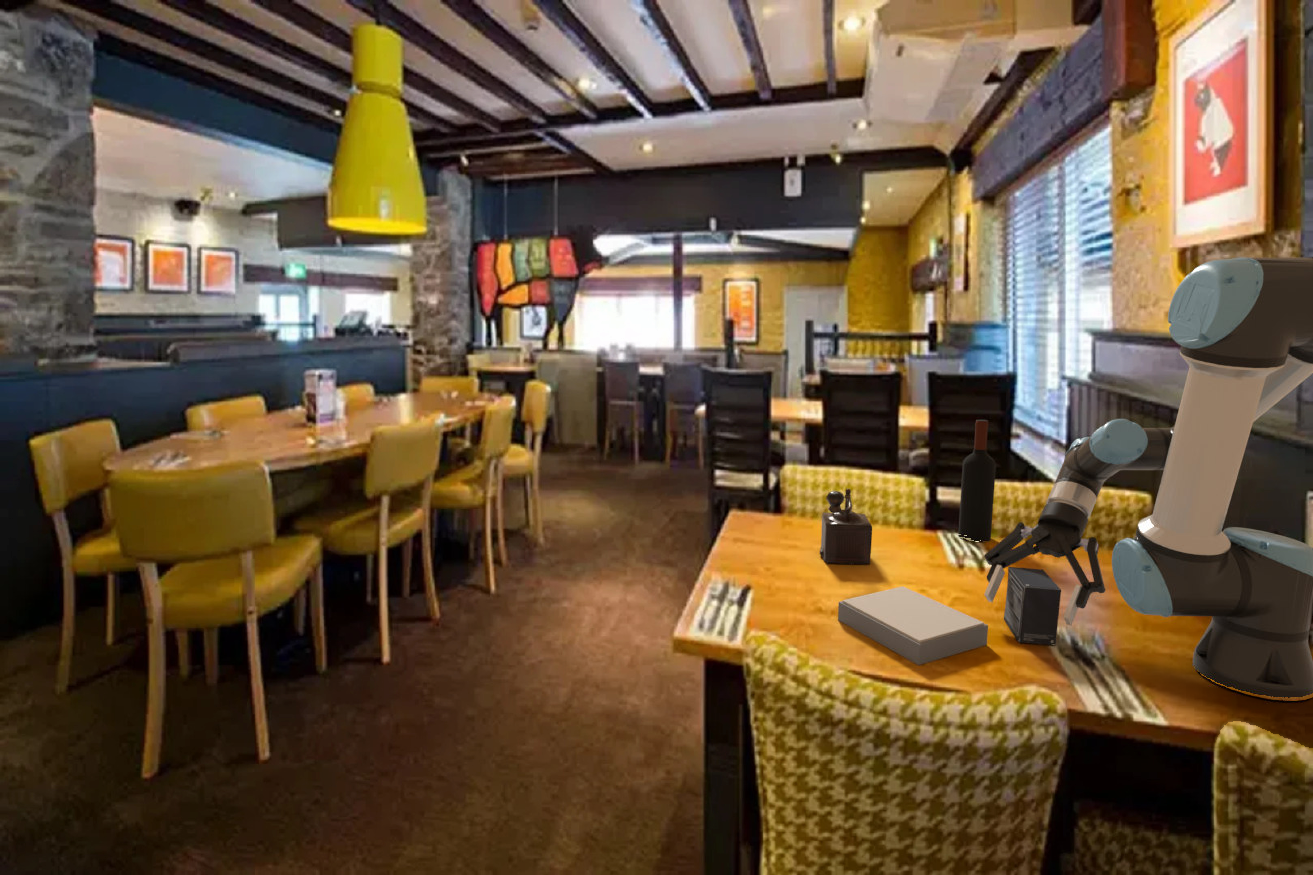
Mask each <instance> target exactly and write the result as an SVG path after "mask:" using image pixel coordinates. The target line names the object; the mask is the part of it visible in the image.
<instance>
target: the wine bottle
mask: <svg viewBox="0 0 1313 875" xmlns="http://www.w3.org/2000/svg"><path fill="white" fill-rule="evenodd" d="M974 424H975V425H974V427H975V430H974V431H975V432H974V446H973V448H974V449H973V451H972V453H970V454H968V455H967V456H966V457H965V458H964V459H963V461H962V467H961V468H962V471H961V472H962V473H961V486H960V503H959V519H958V521H959V522H958V534H961V535H958V534H957V535H958V536H960V537H965V538H971V540H974V541H980V540H981V542H980V543H984V542H983V541H987V542H990V541H991V539H992V523H993V509H994V499H995V498H994V497H995V496H994V495H995V483H996V482H995V481H996V472H997V469H996V468H997V465H996V462H995V460H994V458H993V457H991V456H990V455H989V454H988V452H987V444H988V442H987V441H988V430H989V420H987V419H976V420H975V423H974ZM964 535H967V536H964Z"/></svg>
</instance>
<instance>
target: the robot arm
mask: <svg viewBox="0 0 1313 875" xmlns="http://www.w3.org/2000/svg"><path fill="white" fill-rule="evenodd" d="M1169 304H1170V305H1169V308H1168V313H1167V315H1168V316H1167V322H1168V324H1170V325H1169V328H1168V330H1169V334H1170V335H1171V338H1172V340H1173V341H1174V342H1175V343H1177V345H1180V350H1179V355H1180V356H1181V357H1182V359H1183V360H1184V362H1186V363H1187V365H1188V367H1189V368H1188V372H1187V375H1186V378H1185V379H1186V380H1185V383H1184V389H1183V392H1182V396H1181V401H1180V405H1179V407H1178V408H1179V409H1178V412H1177V415H1176V421H1175V423H1174V425H1173V426H1172V427H1141V425H1139V423H1137V422H1134V421H1130V420H1129V419H1126V418H1116V419H1111V420H1110V421H1107V422H1106V423H1105V424H1104V425H1102V426H1100V427H1099V428H1097V429H1096V430H1095V431H1094V432H1092V434H1091V436H1085V437H1081V438H1080V437H1079V438H1077V439H1075V440H1074V441H1072V443H1071V444H1070V447H1069V449H1068V450H1067V451H1066V453H1065V455H1064V459H1063V462H1062V464H1061V467H1060V469H1059V472H1058V474H1057V476H1056V479H1055V482H1054V483H1053V486H1052V488H1051V491H1050V492H1049V495H1048V497H1047V499H1046V501H1045V503H1046V504H1044V506H1043V509H1042V511H1041V514H1040V516H1039V518H1038V520H1037V521H1038V522H1037V524H1036V525H1035V526H1034V527H1029V526H1027V525H1025V523H1024V522H1022V521H1021V522H1018V523H1017V524H1016V525H1015V528H1014V529H1013V530H1012V531H1011V532H1010V533H1009V534H1007V535H1006V536H1005V537H1004V538H1003V539H1001V540H1000V541H999V542H998V543H997V544H996V545H995V546H993V547H991V549H990V550H988V551H987V552H986V553H984V559H985V561H986V563H987V565H989V566H990V569H989V570H988V572H987V575H986V580H987V582H988V585H987V587H986V589H985V592H984V594H983V595H984V596H985V598H986V600H987V602H990V603H993V601H994V599H995V597H996V595H997V593H998V590H999V588H1000V586H1001V584H1002V581H1003V579H1004V577H1005V574H1006V572H1005V570H1004V569H1007V568H1008V567H1011V565H1013V564H1016V563H1017V562H1019V561H1021V560H1023V559H1025V558H1028V557H1029V556H1031V555H1034V556H1035V555H1036V554H1038V553H1041V555H1045V556H1052V557H1053V558H1054V557H1055V558H1058V559H1059V558H1062V557H1066V559H1067V562H1068V563H1069V565H1070V567H1071V569H1072V570H1073V572H1074V574H1075V576H1076V578H1077V579H1078V582H1079V583H1080V585H1079V584H1075V586H1074V589H1073V590H1072V594H1071V597H1070V598H1069V601H1068V605H1067V607H1066V609H1065V611H1064V615H1063V620H1064V621H1065V623H1066V625H1067V626H1072V625H1073V623H1074V620H1075V618H1076V615H1077V612H1078V610H1079V608H1080V609H1084V608H1086V606H1087V604H1088V602H1089V598H1090V596H1091V595H1092V593H1099V594H1104V593H1106V588H1105V583H1104V579H1103V574H1102V571H1101V570H1102V569H1101V566H1100V562H1099V558H1098V553H1099V549H1100V546H1099V543H1098V540H1097V538H1096V537H1093V536H1090V537H1089V538H1082V536H1083V535H1084V533H1085V530H1086V528H1087V525H1088V522H1089V518H1090V517H1091V514H1092V512H1093V509H1094V508H1095V507H1094V506H1095V504H1096V503H1097V500H1098V497H1099V494H1100V493H1101V492H1100V491H1101V489H1102V487H1103V485H1104V483H1105V482H1106V481H1107V480H1108V479H1110V478H1111V477H1113V476H1115V474H1117V473H1118V472H1120V471H1163V472H1162V476H1161V479H1160V484H1159V488H1158V492H1157V496H1156V499H1155V502H1154V503H1155V504H1154V508H1153V512H1152V514H1151V515H1148V516H1147V517H1143V518H1141V519H1140V520H1139V521H1138V524H1137V527H1136V530H1135V531H1136V532H1135V535H1134V538H1130V537H1126V538H1124V539H1123V538H1122V539H1121V540H1120V541H1118V542H1116V544H1115V545H1114V547H1113V549H1112V555H1111V568H1112V573H1113V575H1112V576H1113V579H1114V582H1115V584H1116V587H1117V590H1118V592H1119V594H1120V595H1121V597H1122V599H1123V600H1124V602H1126V604H1127V606H1129V607H1130V608H1131V609H1132V610H1133V611H1135V612H1137V613H1139V614H1142V615H1145V616H1146V615H1148V616H1161V617H1162V618H1169V617H1211V622H1210V623H1209V625H1208V626H1207V628H1206V629H1205V632H1204V633H1203V635H1202V636H1201V638H1200V640H1199V641H1198V642H1197V645H1196V646H1195V647H1194V650H1193V656H1192V663H1193V664H1192V667H1193V666H1194V667H1195V669H1196V670H1198V671H1199V672H1200V673H1201V674H1203V675H1204V676H1206V677H1207V678H1210V679H1212V680H1214V681H1215V682H1217V683H1220V684H1223V685H1225V686H1227V687H1233V688H1235V689H1238V690H1241V691H1246V692H1250V693H1253V694H1258V695H1266V696H1271V697H1272V696H1273V697H1284V698H1285V697H1288V698H1290V697H1303V696H1306V695H1310V694H1312V693H1313V656H1312V652H1311V649H1310V646H1309V634H1310V629H1311V624H1312V623H1311V622H1312V616H1313V547H1312V546H1311V545H1309V544H1307V543H1304V542H1302V541H1300V540H1297V539H1294V538H1292V537H1287V536H1284V535H1280V534H1276V533H1273V532H1269V531H1264V530H1258V529H1253V528H1249V527H1248V528H1247V527H1238V526H1237V527H1236V526H1228V527H1227V528H1224V524H1225V520H1226V517H1227V513H1228V509H1229V507H1230V506H1229V505H1230V502H1231V499H1232V496H1233V492H1234V490H1235V485H1236V482H1237V479H1238V475H1239V472H1240V468H1241V465H1242V461H1243V458H1244V455H1245V451H1246V447H1247V445H1248V441H1249V437H1250V433H1251V430H1252V427H1253V424H1254V422H1255V421H1256V420H1257V419H1259V418H1260V417H1262V416H1263V415H1264V414H1265V413H1266V412H1267V411H1268V410H1270V409H1271V408H1272V407H1274V406H1275V405H1276V404H1277V403H1279V401H1281V400H1282V399H1283V398H1285V397H1286V396H1287V395H1288V394H1289V393H1291V392H1292V391H1293V390H1294V389H1295V388H1296V387H1298V386H1299V385H1300V384H1302V382H1304V381H1305V380H1306V379H1308V378H1309V377H1310V376H1311V375H1312V374H1313V256H1309V257H1247V256H1246V257H1242V256H1238V257H1235V258H1224V259H1214V260H1210V261H1207V262H1204V263H1202V264H1200V265H1199V266H1196V267H1195V268H1194V269H1193V270H1192V271H1191V272H1189V273H1188V274H1187V275H1186V276H1185V277H1184V278H1183V280H1182V281H1181V282H1180V283H1179V285H1178V286H1177V288H1176V290H1175V291H1174V294H1173V296H1172V299H1171V301H1170V303H1169ZM1223 528H1224V529H1223ZM1222 530H1223V531H1222ZM1029 536H1031V537H1030V538H1028V537H1029ZM1027 538H1028V539H1027ZM1023 539H1027V540H1025V542H1024V543H1022V544H1020V543H1021V542H1022V541H1023ZM1018 544H1020V545H1018ZM1017 545H1018V546H1017ZM1081 547H1082V548H1083V549H1084V551H1085V552H1086V553H1087V555H1088V556H1087V557H1088V561H1089V565H1090V569H1091V574H1092V579H1093V581H1090V580H1089V579H1088V577H1087V575H1086V574H1085V572H1084V570H1083V568H1082V566H1081V564H1080V563H1079V561H1078V559H1077V557H1076V555H1075V553H1074V552H1075V551H1076V550H1077V549H1079V548H1081ZM1194 667H1193V668H1194ZM1195 669H1194V670H1195ZM1196 670H1195V671H1196Z"/></svg>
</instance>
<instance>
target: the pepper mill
mask: <svg viewBox="0 0 1313 875" xmlns="http://www.w3.org/2000/svg"><path fill="white" fill-rule="evenodd" d="M851 493H852V490H851V489H850V488H846V489H845V494H844V493H842V492H841V491H838V490H833V491H830V492H828V494H827V495H826V501H827V503H828V505H829V507H828V509H827V510H828V511H829V512H822V515H821V538H820V542H821V544H820V548H819V549H820V550H819V555H820V556H821V558H822V559H823V562H825V563H826V564H832V565H849V566H864V565H865V566H868V565H870V564H871V553H872V542H873V541H872V539H873V525H872V524H871V522H870V520H869V519H868V517H867V516H866V514H865V513H858V512H855V511H852V509H853V504H852V500H851V499H852V495H851ZM844 501H845V502H844ZM843 503H844V504H845V505H844V509H842V507H841V505H842V504H843Z"/></svg>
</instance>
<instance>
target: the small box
mask: <svg viewBox="0 0 1313 875" xmlns="http://www.w3.org/2000/svg"><path fill="white" fill-rule="evenodd" d="M1007 572H1008V573H1007V586H1006V587H1007V588H1006V595H1005V596H1006V597H1005V607H1004V614H1003V619H1004V621H1005V623H1006V625H1007V626H1008V628H1009V629H1010V631H1011V633H1012V634H1013V636H1014V637H1015V639H1016V641H1017V643H1021V644H1032V645H1033V644H1035V645H1044V644H1045V645H1046V646H1048V645H1047V644H1057V635H1058V634H1057V633H1058V623H1059V617H1060V616H1059V615H1060V614H1059V613H1060V606H1061V596H1062V589H1061V588H1060V586H1058V584H1057V583H1056V582H1055V581H1054V580H1053V579H1052V578H1051V577H1050V576H1049V575H1048V573H1047V572H1046V571H1045V570H1044V569H1040V568H1027V567H1017V566H1016V567H1015V566H1008V567H1007Z"/></svg>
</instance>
